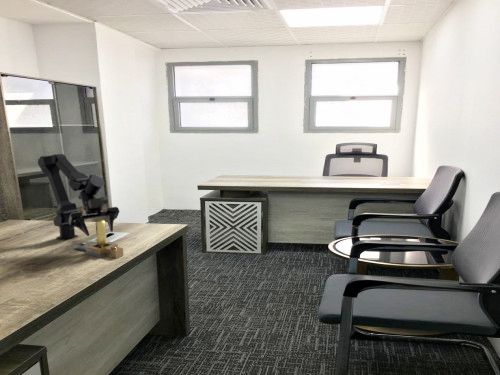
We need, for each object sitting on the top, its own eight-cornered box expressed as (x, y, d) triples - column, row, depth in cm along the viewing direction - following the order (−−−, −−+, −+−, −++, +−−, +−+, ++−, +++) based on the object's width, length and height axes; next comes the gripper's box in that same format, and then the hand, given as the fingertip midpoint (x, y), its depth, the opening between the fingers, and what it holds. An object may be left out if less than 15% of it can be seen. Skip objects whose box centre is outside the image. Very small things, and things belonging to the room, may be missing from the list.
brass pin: (95, 253, 148) (93, 221, 146) (103, 250, 151) (101, 219, 149) (101, 254, 146) (99, 222, 144) (109, 252, 149) (107, 220, 147)
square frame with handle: (70, 249, 152) (70, 241, 151) (88, 244, 159) (88, 236, 158) (110, 260, 140) (110, 251, 139) (128, 253, 147) (127, 245, 147)
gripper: (68, 192, 143) (79, 226, 136) (116, 187, 155) (128, 218, 148) (64, 209, 150) (74, 242, 144) (110, 203, 162) (121, 233, 155)
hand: (100, 233), depth 147 cm, fingers open, 9 cm apart
